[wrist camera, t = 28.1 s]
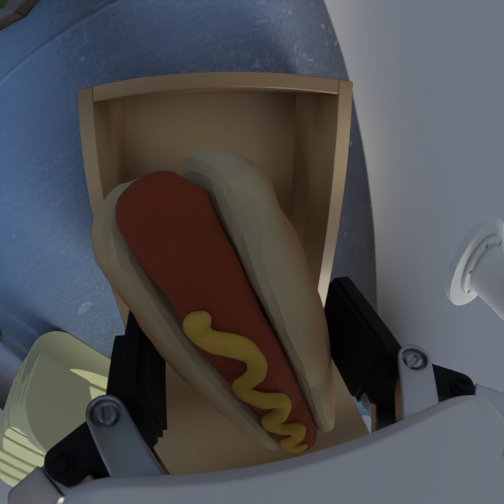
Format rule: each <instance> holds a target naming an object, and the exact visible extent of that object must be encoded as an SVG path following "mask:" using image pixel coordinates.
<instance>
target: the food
mask: <svg viewBox="0 0 504 504" xmlns="http://www.w3.org/2000/svg"><path fill="white" fill-rule="evenodd" d="M90 233H91V239H92V245H93V251H94V256H95V260H96V262H97V264H98V266H99V267H100V268H101V270H102V272H103V273H104V275H105V276H106V278H107V279H108V281H109V282H110V283H111V285H112V286H113V288H114V289H115V291H116V292H117V293H118V295H119V296H120V298H121V299H122V300H123V302H124V303H125V304H126V305H127V307H128V308H129V309H130V311H131V312H132V313H133V314H134V316H135V318H136V320H137V322H138V324H139V326H140V327H141V329H142V331H143V332H144V333H145V334H146V336H147V337H148V338H149V339H150V341H151V342H152V343H153V345H154V346H155V348H156V349H157V351H158V352H159V354H160V355H161V357H162V358H163V359H164V360H165V361H166V362H167V363H168V364H169V365H170V367H171V368H172V369H173V370H174V371H175V372H176V373H177V374H178V375H179V376H180V377H181V378H182V379H183V380H184V381H185V382H186V383H187V384H188V385H189V386H190V387H191V388H192V389H194V390H195V391H196V392H197V393H198V394H199V395H200V396H201V397H202V398H203V399H204V400H205V401H206V402H207V403H208V404H209V405H211V406H212V407H213V408H214V409H215V410H216V411H217V412H219V413H220V414H221V415H222V416H224V417H225V418H226V419H228V420H229V421H230V422H232V423H233V424H234V425H235V426H236V427H237V428H238V429H239V430H240V431H241V432H242V433H243V434H244V435H245V436H247V437H249V438H251V439H253V440H254V441H256V442H257V443H259V444H261V445H263V446H264V447H265V448H267V449H269V450H271V451H274V450H277V449H279V448H281V446H282V447H283V448H284V449H285V450H287V451H290V452H295V453H301V452H305V451H307V450H309V449H311V448H312V447H313V446H314V445H315V442H316V440H317V429H316V428H318V429H319V430H320V431H321V432H328V431H331V430H332V429H333V427H334V423H335V409H334V403H335V377H334V370H333V364H332V357H331V346H330V339H329V332H328V326H327V321H326V316H325V312H324V307H323V304H322V300H321V297H320V295H319V292H318V290H317V288H316V285H315V283H314V280H313V278H312V276H311V274H310V270H309V267H308V264H307V260H306V256H305V252H304V249H303V247H302V245H301V242H300V240H299V238H298V236H297V233H296V231H295V229H294V227H293V225H292V224H291V223H290V221H289V220H288V218H287V217H286V215H285V214H284V212H283V211H282V210H281V208H280V207H279V204H278V201H277V198H276V195H275V192H274V189H273V185H272V183H271V181H270V179H269V178H268V176H267V175H266V174H265V173H264V172H263V171H262V170H261V169H260V168H259V167H257V166H256V165H255V164H254V163H253V162H251V161H250V160H248V159H247V158H245V157H244V156H242V155H240V154H238V153H236V152H233V151H230V150H227V149H221V148H208V149H198V150H196V151H193V152H191V153H189V154H187V155H185V156H184V165H183V168H182V171H181V173H180V175H179V174H177V173H175V172H173V171H155V172H152V173H149V174H146V175H144V176H142V177H140V178H137V179H135V180H133V181H131V182H128V183H123V184H120V185H118V186H117V187H116V188H114V189H113V190H112V191H111V192H109V194H108V195H107V196H106V198H105V199H104V201H103V202H102V204H101V205H100V207H99V209H98V210H97V212H96V214H95V216H94V220H93V224H92V227H91V231H90Z"/></svg>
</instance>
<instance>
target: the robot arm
mask: <svg viewBox="0 0 504 504" xmlns="http://www.w3.org/2000/svg"><path fill="white" fill-rule="evenodd" d="M461 288H462V291H463V292H464V293H465V294H466V295H468V296H472V295H475V294H478V295H479V296H480V297H481V298H482V299H483V300H484V301H485V302H486V303H487V304H488V305H489V306H490V307H491V308H492V309H493V310H494V311H495V312H496V313H497V314H498V315H499V316H500V317H501V318H502V319H503V320H504V251H503V242H502V240H501V238H500V237H498V236H497V235H491V236H489V237H487V238H486V239H485V240H483V241H482V242H481V243H480V245H479V246H478V247H477V248H476V250H475V251H474V253H473V254H472V256H471V258H470V259H469V261H468V263H467V265H466V268H465V270H464V273H463V276H462V281H461ZM324 312H325V316H326V321H327V326H328V332H329V339H330V346H331V357H332V359H333V361H334V363H335V365H336V367H337V369H338V371H339V373H340V375H341V377H342V379H343V381H344V383H345V385H346V387H347V389H348V391H349V393H350V394H351V396H352V397H354V396H355V398H356V399H357V401H358V402H360V401H363V400H366V399H369V401H370V403H372V409H371V410H372V411H371V433H370V434H367V435H365V436H362V437H359V438H357V439H354V440H351V441H348V442H345V443H342V444H339V445H336V446H333V447H330V448H327V449H323V450H320V451H316V452H313V453H309V454H305V455H302V456H298V457H294V458H290V459H285V460H281V461H276V462H271V463H266V464H261V465H256V466H250V467H244V468H237V469H230V470H222V471H213V472H202V473H189V474H172V475H171V473H170V472H169V470H168V469H167V467H166V466H165V464H164V463H163V461H162V460H161V458H160V457H159V455H158V453H157V452H156V450H155V449H154V446H155V445H156V444H157V443H158V438H163V430H167V405H166V361H165V360H164V359H163V358H162V357H161V355H160V354H159V352H158V351H157V349H156V348H155V346H154V345H153V343H152V342H151V341H150V339H149V338H148V337H147V336H146V334H145V333H144V332H143V331H142V329H141V327H140V326H139V324H138V322H137V320H136V318H135V316H134V314H133V313H132V312H131V311H130V309H129V314H128V319H127V325H126V331H125V335H122V336H116V337H115V340H114V345H113V350H112V356H111V362H110V368H109V375H108V382H107V389H106V395H101V396H98V397H96V398H94V399H93V400H92V401H91V402H90V403H89V404H88V406H87V408H86V412H85V417H86V421H85V422H84V423H82V424H81V425H80V426H79V427H77V428H76V429H75V430H74V431H72V432H71V433H70V434H68V435H67V436H66V437H65V438H63V439H62V440H61V441H59V442H58V443H57V444H56V445H54V446H53V447H52V448H50V450H49V451H48V452H47V453H46V455H45V458H44V465H43V466H42V467H39V466H37V467H36V468H35V469H34V470H33V471H32V472H30V473H29V474H28V475H27V476H26V477H25V478H24V479H22V480H21V481H20V482H19V483H18V484H17V485H16V486H14V487H13V488H12V489H11V490H10V492H9V494H8V504H504V393H502V392H499V391H496V390H493V389H491V388H487V387H485V386H482V385H479V384H475V386H474V384H473V382H472V380H471V379H470V378H469V377H468V376H467V375H465V374H462V373H459V372H456V371H453V370H450V369H447V368H444V367H440V366H437V365H434V364H432V363H431V359H430V356H429V354H428V353H427V352H426V351H425V350H424V349H423V348H421V347H419V346H415V345H406V346H404V347H401V346H400V345H399V343H398V342H397V340H396V339H395V338H394V336H393V335H392V333H391V332H390V331H389V329H388V328H387V327H386V325H385V324H384V323H383V321H382V320H381V319H380V317H379V316H378V315H377V313H376V312H375V311H374V309H373V308H372V307H371V305H370V304H369V303H368V301H367V300H366V299H365V297H364V296H363V295H362V294H361V292H360V291H359V290H358V289H357V287H356V286H355V285H354V283H353V282H352V281H351V280H350V278H349V277H339V278H334V279H333V281H332V282H330V284H329V287H328V292H327V297H326V302H325V307H324Z"/></svg>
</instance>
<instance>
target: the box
mask: <svg viewBox="0 0 504 504" xmlns="http://www.w3.org/2000/svg"><path fill="white" fill-rule="evenodd" d="M352 88H353V82H351V81H345V80H338V79H332V78H325V77H318V76H309V75H300V74H289V73H276V72H255V71H210V72H190V73H177V74H166V75H157V76H149V77H141V78H134V79H128V80H122V81H116V82H111V83H106V84H101V85H96V86H94V87H88V88H83V89H79V90H78V91H77V93H78V113H79V126H80V136H81V146H82V154H83V162H84V169H85V175H86V182H87V188H88V193H89V199H90V204H91V209H92V214H93V219H94V216H95V214H96V212H97V210H98V209H99V207H100V205H101V204H102V202H103V201H104V199H105V198H106V196H107V195H108V194H109V192H111V191H112V190H113V189H114V188H116V187H117V186H118V185H120V184H123V183H128V182H131V181H133V180H135V179H137V178H140V177H142V176H144V175H146V174H149V173H152V172H155V171H173V172H175V173H177V174H179V175H180V173H181V171H182V168H183V165H184V156H185V155H187V154H189V153H191V152H193V151H196V150H198V149H208V148H221V149H227V150H230V151H233V152H236V153H238V154H240V155H242V156H244V157H245V158H247V159H248V160H250V161H251V162H253V163H254V164H255V165H256V166H257V167H259V168H260V169H261V170H262V171H263V172H264V173H265V174H266V175H267V176H268V178H269V179H270V181H271V183H272V185H273V189H274V192H275V195H276V198H277V201H278V204H279V207H280V208H281V210H282V211H283V212H284V214H285V215H286V217H287V218H288V220H289V221H290V223H291V224H292V225H293V227H294V229H295V231H296V233H297V236H298V238H299V240H300V242H301V245H302V247H303V249H304V252H305V256H306V260H307V264H308V267H309V270H310V274H311V276H312V278H313V280H314V283H315V285H316V288H317V290H318V292H319V295H320V297H321V300H322V304H323V307H324V306H325V301H326V297H327V292H328V287H329V281H330V276H331V271H332V265H333V260H334V254H335V248H336V242H337V236H338V229H339V223H340V216H341V209H342V201H343V193H344V185H345V177H346V168H347V158H348V148H349V136H350V123H351V108H352ZM110 284H111V283H110ZM111 288H112V291H113V294H114V297H115V300H116V303H117V306H118V309H119V312H120V315H121V318H122V321H123V323H124V326H125V329H126V325H127V319H128V314H129V308H128V307H127V305H126V304H125V303H124V302H123V300H122V299H121V298H120V296H119V295H118V293H117V292H116V291H115V289H114V288H113V286H112V285H111Z"/></svg>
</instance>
